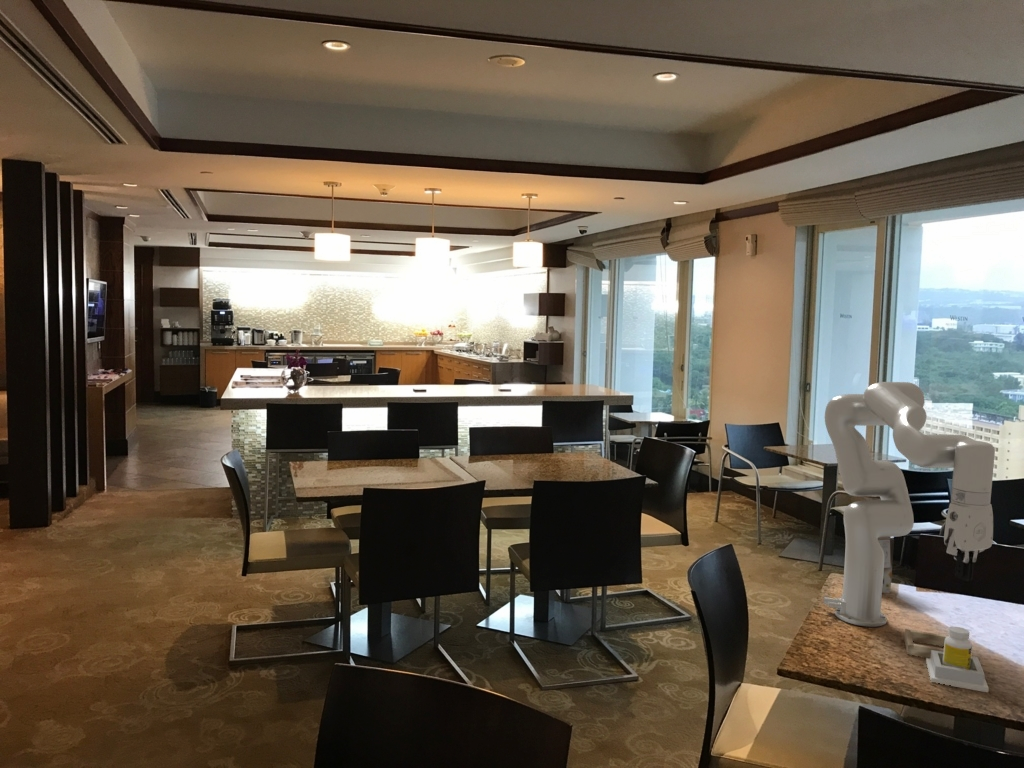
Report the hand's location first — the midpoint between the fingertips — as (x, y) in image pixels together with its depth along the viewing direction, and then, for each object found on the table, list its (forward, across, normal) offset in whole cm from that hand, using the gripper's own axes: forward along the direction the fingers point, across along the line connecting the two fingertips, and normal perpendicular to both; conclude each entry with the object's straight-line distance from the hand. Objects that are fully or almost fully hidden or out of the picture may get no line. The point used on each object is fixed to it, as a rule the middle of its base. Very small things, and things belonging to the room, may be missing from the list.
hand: (963, 578), depth 177 cm
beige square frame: (+23, +7, +12) cm, 27 cm away
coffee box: (+23, +29, +50) cm, 63 cm away
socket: (+23, 0, 0) cm, 23 cm away
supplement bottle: (+22, 0, 0) cm, 22 cm away
